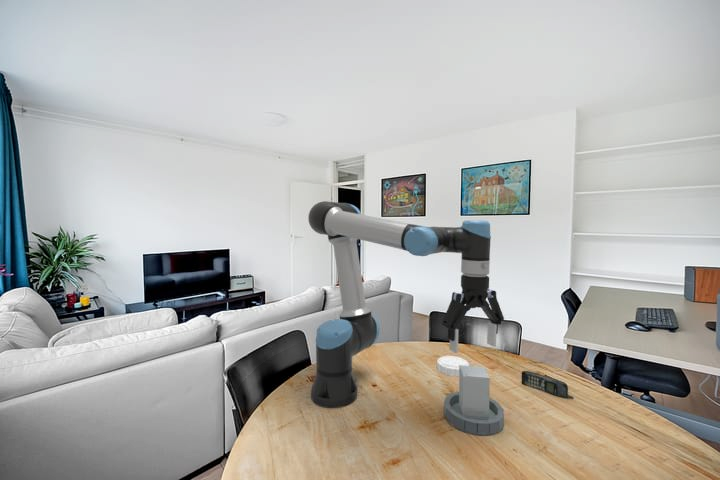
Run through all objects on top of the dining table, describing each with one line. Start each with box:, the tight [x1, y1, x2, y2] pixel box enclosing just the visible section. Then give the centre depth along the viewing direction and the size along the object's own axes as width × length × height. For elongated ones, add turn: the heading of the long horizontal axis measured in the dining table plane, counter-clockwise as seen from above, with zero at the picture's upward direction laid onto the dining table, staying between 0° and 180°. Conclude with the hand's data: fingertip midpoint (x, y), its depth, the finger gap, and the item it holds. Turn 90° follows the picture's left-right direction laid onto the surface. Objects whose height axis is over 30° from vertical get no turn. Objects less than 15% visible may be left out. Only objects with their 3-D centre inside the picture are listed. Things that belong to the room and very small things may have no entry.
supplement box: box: [458, 365, 491, 420], centre depth 89 cm, size 7×7×13 cm
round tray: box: [443, 390, 505, 437], centre depth 89 cm, size 16×16×3 cm
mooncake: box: [436, 355, 470, 378], centre depth 119 cm, size 12×12×4 cm
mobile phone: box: [521, 370, 574, 400], centre depth 103 cm, size 5×3×15 cm
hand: (473, 348), depth 88 cm, fingers open, 13 cm apart
